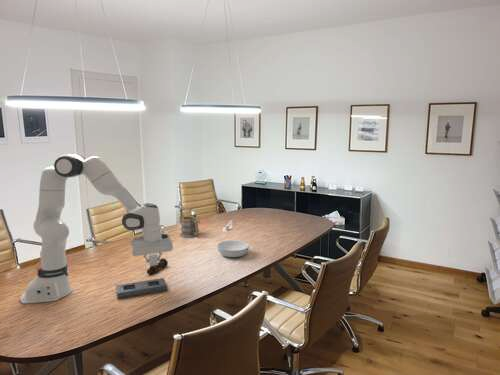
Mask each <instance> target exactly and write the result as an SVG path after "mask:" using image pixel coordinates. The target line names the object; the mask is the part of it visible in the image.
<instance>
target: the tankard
mask: <svg viewBox="0 0 500 375" xmlns="http://www.w3.org/2000/svg"><path fill="white" fill-rule="evenodd" d="M200 223H201V221H200V219H198V218H197V217H195V216H184V217H183V216H182V218H181V221H180V226H181V228H180V231H181V233H180V234H179V236H180V237H181V238H183V239H186V238H187V239H192V238H195V237H196V238H197V237H198V235H199V231H200V230H199V229H200V228H199V225H198V224H200Z"/></svg>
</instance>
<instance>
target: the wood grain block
mask: <svg viewBox="0 0 500 375" xmlns="http://www.w3.org/2000/svg"><path fill="white" fill-rule="evenodd" d="M157 257H158V253H153V254H147V258H149V262H148V265H149V267H150V266H155V265H158V263H159V261H158V259H157Z"/></svg>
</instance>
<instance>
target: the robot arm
mask: <svg viewBox="0 0 500 375" xmlns="http://www.w3.org/2000/svg"><path fill="white" fill-rule="evenodd" d="M81 175H82V176H84V177H86V178H87V179H88V181H89V182H90V184H91V185H92V186H93V188H94V189H95V190H96V191H97V192H98V193H100V194H101V195H105V196H111V197H113V198H115V199H117V200H118V201H119V202H120V204H121V205H122V206H123V207H124V208H125V210H126V211H127V212H125V214H124V215H123V216H122V218H121V224H122V226H123V228H124V229H126V230H127V231H138V230H141V232H142V235H141V236H137V237H133V238H131V239H130V246H131V255H132V256H134V257H138V256H143V258H144V259H145V263H149V258H148V254H154V253H156V254H158V255H157V259H158V262H159V261H160V259H161V258H162V255H163V253H166V252H172V251H173V248H174V247H173V242H172V239H171V234H170V232H168V231H167V230H163V229H162V230H161V225H160V222H161V217H160V216H161V215H160V211H159V207H158V206H157V205H156V204H154V203H143V204H142V205H141V204H140V203H138V202H137V200H136V199H135V197H134V196H132V194H130V192H129V191H128V190H127V188H126V187H124V186H123V184H122V183H121V182H120V181H119V179H118V178H117V177H116V175H115V174H114V172H113V171H112V170H111V169H110V167H109V166H108V165H107V163H106V162H104V161H103V160H102V159H101V157H98V156H90V157H87V158H85V157H84V156H83V155H81V154H74V153H68V154H63V155H60V156H59V157H58V158H56V159H55V161H54V164H53V166H47V167H46V168H44V169H43V170H42V172H41V175H40V181H39V194H38V195H39V196H38V208H37V211H36V214H35V220H34V222H33V230H34V231H35V234H36V235H37V236H39V237H40V238H41V244H42V245H41V250H40V253H39V254H40V255H39V256H40V266H37V268H36V275H37V276H35V277H34V278H33V279H31V281H29V282H28V283H27V285H26V287H25V291H24V292H23V293H22V294H21V296H20V303H21V304H24V305H25V304H37V303H47V302H56V301H58V300H60V299H61V298H64V297H66V296H68V295H70V294H71V293H72V292H73V288H72V287H71V283H70V279H69V266H68V264H67V257H66V246H67V240H68V237H69V234H70V229H69V227H68V225H67V224H66V223H65V222H64V221H62V220H61V215H62V211H63V209H64V208H65V204H66V185H67V184H66V182H67V180H68V179H69V178H76V177H78V176H81Z"/></svg>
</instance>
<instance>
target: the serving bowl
mask: <svg viewBox="0 0 500 375" xmlns="http://www.w3.org/2000/svg"><path fill="white" fill-rule="evenodd" d="M216 247H217V248H216V249H217V250H218V253H220V255H222V256H224V257H226V258H227V257H228V258H238V257H241V256H244V255H245V254H247V253H248V252H249V248H250V244H249V243H247V242H245V241H243V240H237V239H236V240H235V239H234V240H232V239H231V240H225V241H220V242H219V243H217V245H216Z"/></svg>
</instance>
